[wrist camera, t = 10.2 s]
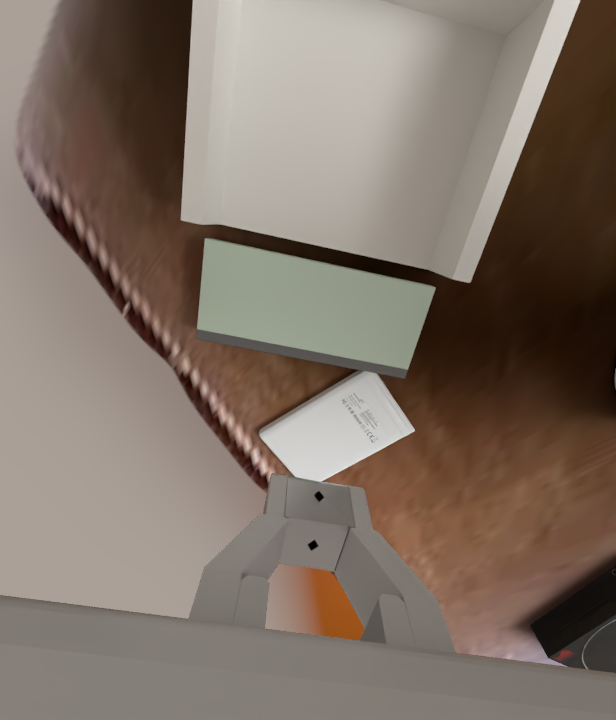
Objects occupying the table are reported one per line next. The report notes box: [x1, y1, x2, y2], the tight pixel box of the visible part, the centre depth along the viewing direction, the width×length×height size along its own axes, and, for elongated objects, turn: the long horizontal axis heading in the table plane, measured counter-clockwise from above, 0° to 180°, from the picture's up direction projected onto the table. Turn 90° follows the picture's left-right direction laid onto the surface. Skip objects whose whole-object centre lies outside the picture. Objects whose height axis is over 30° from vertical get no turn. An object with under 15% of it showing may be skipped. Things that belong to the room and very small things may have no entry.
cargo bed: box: [181, 0, 580, 283], centre depth 20 cm, size 18×15×7 cm
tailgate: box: [196, 238, 436, 379], centre depth 26 cm, size 17×1×8 cm
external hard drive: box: [259, 370, 415, 482], centre depth 32 cm, size 2×8×12 cm
